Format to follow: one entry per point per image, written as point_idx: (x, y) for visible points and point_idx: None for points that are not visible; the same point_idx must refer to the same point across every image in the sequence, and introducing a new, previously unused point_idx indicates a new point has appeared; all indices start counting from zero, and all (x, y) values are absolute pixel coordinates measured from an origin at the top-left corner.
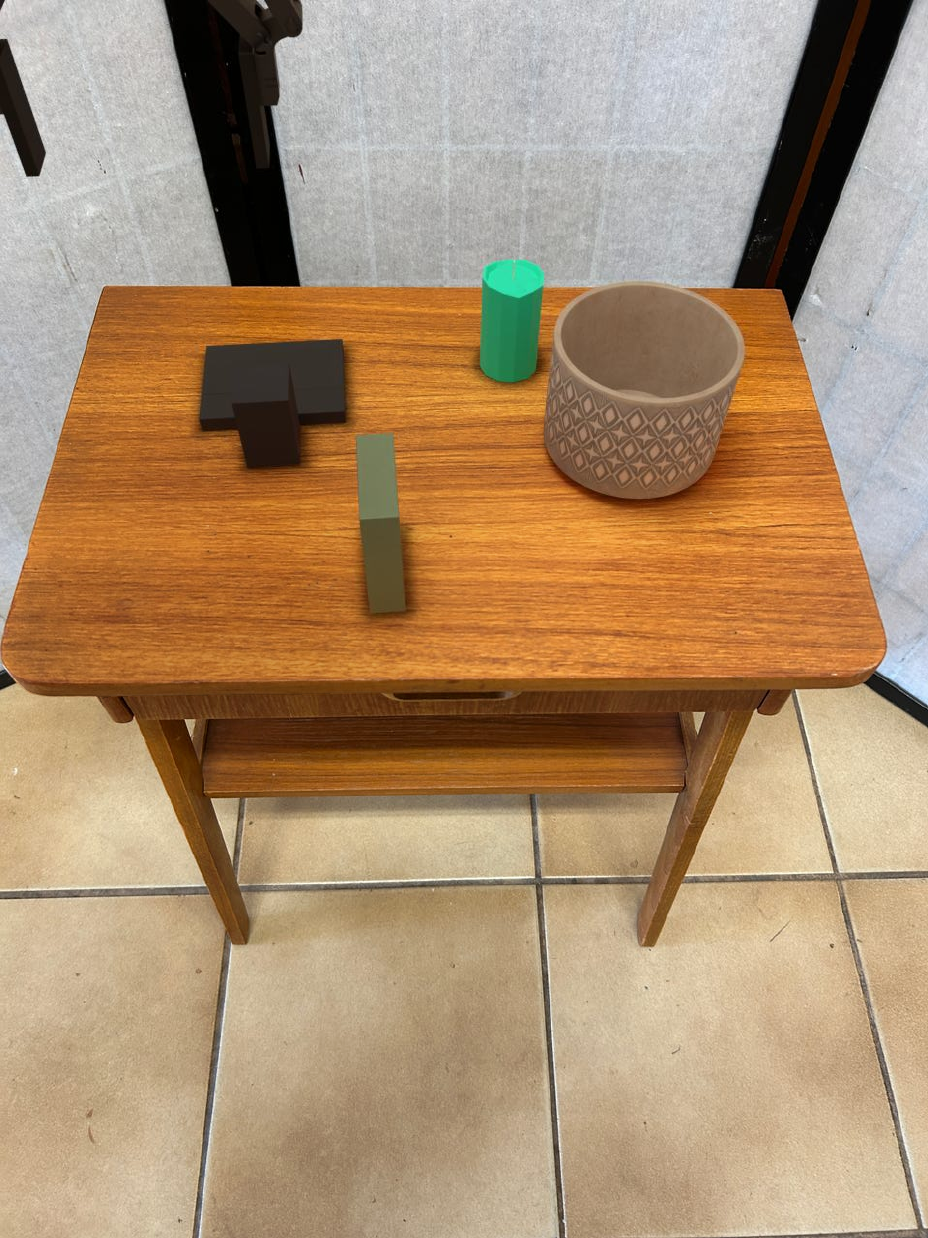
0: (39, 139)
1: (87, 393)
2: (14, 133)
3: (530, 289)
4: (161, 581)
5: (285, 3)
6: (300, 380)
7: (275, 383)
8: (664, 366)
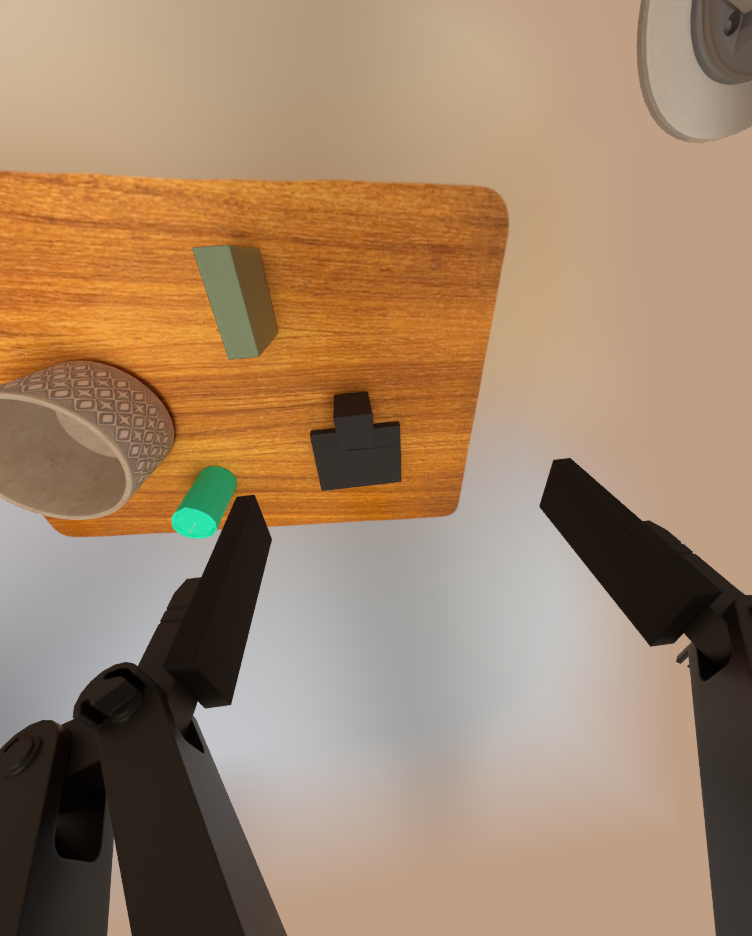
0: (553, 515)
1: (466, 447)
2: (608, 495)
3: (180, 515)
4: (412, 287)
5: None
6: (341, 458)
7: (344, 432)
8: (83, 468)
